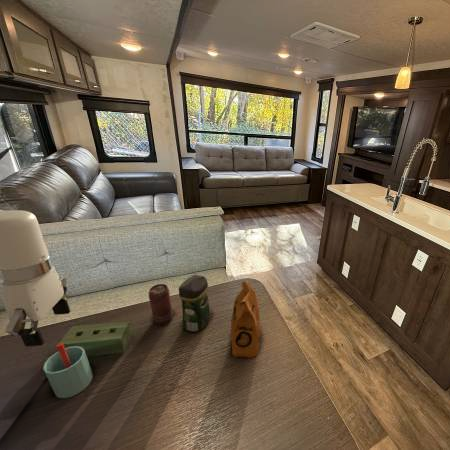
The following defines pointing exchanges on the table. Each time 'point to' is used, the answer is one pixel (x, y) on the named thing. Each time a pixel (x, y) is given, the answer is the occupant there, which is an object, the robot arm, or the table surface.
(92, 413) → the table surface
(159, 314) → the can
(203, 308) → the coffee jar
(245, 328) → the coffee package
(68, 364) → the straw
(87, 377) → the tumbler
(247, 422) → the table surface
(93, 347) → the straw holder
